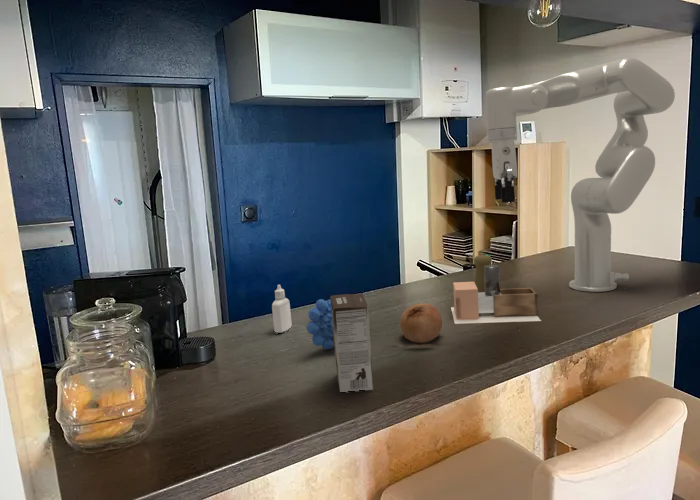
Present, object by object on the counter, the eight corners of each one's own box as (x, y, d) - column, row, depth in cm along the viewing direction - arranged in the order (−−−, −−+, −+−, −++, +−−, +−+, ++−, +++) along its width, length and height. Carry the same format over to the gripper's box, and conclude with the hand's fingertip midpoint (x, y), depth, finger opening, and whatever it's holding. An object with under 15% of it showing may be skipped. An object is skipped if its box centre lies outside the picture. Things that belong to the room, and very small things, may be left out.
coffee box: (336, 374, 103) (329, 295, 100) (368, 370, 103) (362, 292, 101) (339, 394, 94) (332, 307, 91) (374, 390, 94) (368, 304, 92)
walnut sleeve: (531, 308, 132) (531, 287, 131) (537, 315, 126) (536, 293, 125) (491, 310, 133) (490, 289, 132) (494, 317, 127) (494, 295, 127)
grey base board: (528, 308, 136) (528, 304, 136) (541, 324, 122) (541, 320, 122) (451, 310, 139) (450, 307, 139) (455, 327, 125) (454, 323, 125)
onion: (420, 360, 114) (410, 328, 109) (397, 338, 122) (387, 307, 116) (454, 338, 117) (446, 305, 111) (429, 318, 124) (421, 286, 119)
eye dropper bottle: (297, 329, 133) (293, 283, 131) (278, 335, 129) (273, 288, 127) (288, 326, 136) (284, 281, 134) (269, 331, 133) (264, 286, 131)
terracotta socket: (475, 309, 135) (474, 281, 134) (478, 319, 127) (477, 289, 126) (454, 310, 136) (453, 282, 134) (456, 319, 128) (455, 290, 126)
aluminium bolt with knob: (499, 307, 132) (498, 264, 130) (502, 312, 128) (501, 267, 126) (459, 308, 133) (458, 266, 132) (461, 313, 129) (459, 269, 127)
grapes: (324, 361, 110) (319, 307, 108) (302, 355, 114) (297, 302, 112) (360, 345, 118) (356, 293, 116) (338, 339, 123) (334, 290, 121)
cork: (492, 288, 158) (491, 253, 157) (495, 293, 153) (494, 256, 151) (472, 289, 159) (471, 254, 157) (475, 294, 153) (473, 257, 151)
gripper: (523, 133, 128) (526, 202, 131) (510, 135, 145) (512, 196, 148) (492, 136, 129) (495, 204, 132) (482, 138, 146) (485, 199, 149)
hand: (504, 200), depth 140 cm, fingers open, 9 cm apart
